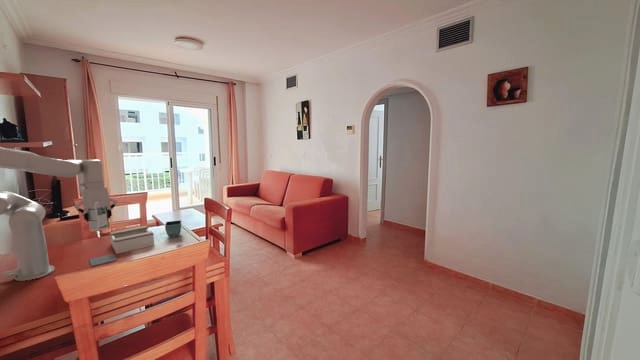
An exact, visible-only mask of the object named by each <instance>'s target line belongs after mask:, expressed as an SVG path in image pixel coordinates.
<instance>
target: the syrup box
mask: <svg viewBox="0 0 640 360" xmlns="http://www.w3.org/2000/svg"><path fill="white" fill-rule="evenodd" d="M93 206H94V208H93V209H89V210H88V211H87V213H88V220H89V221H88V228H89V230H90V231H98V232H99V231H102V230H105V229H108V228H110V227H111V225H110V220H109V219H110V218H108V208H107V207H100V206H99V202H93Z"/></svg>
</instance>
